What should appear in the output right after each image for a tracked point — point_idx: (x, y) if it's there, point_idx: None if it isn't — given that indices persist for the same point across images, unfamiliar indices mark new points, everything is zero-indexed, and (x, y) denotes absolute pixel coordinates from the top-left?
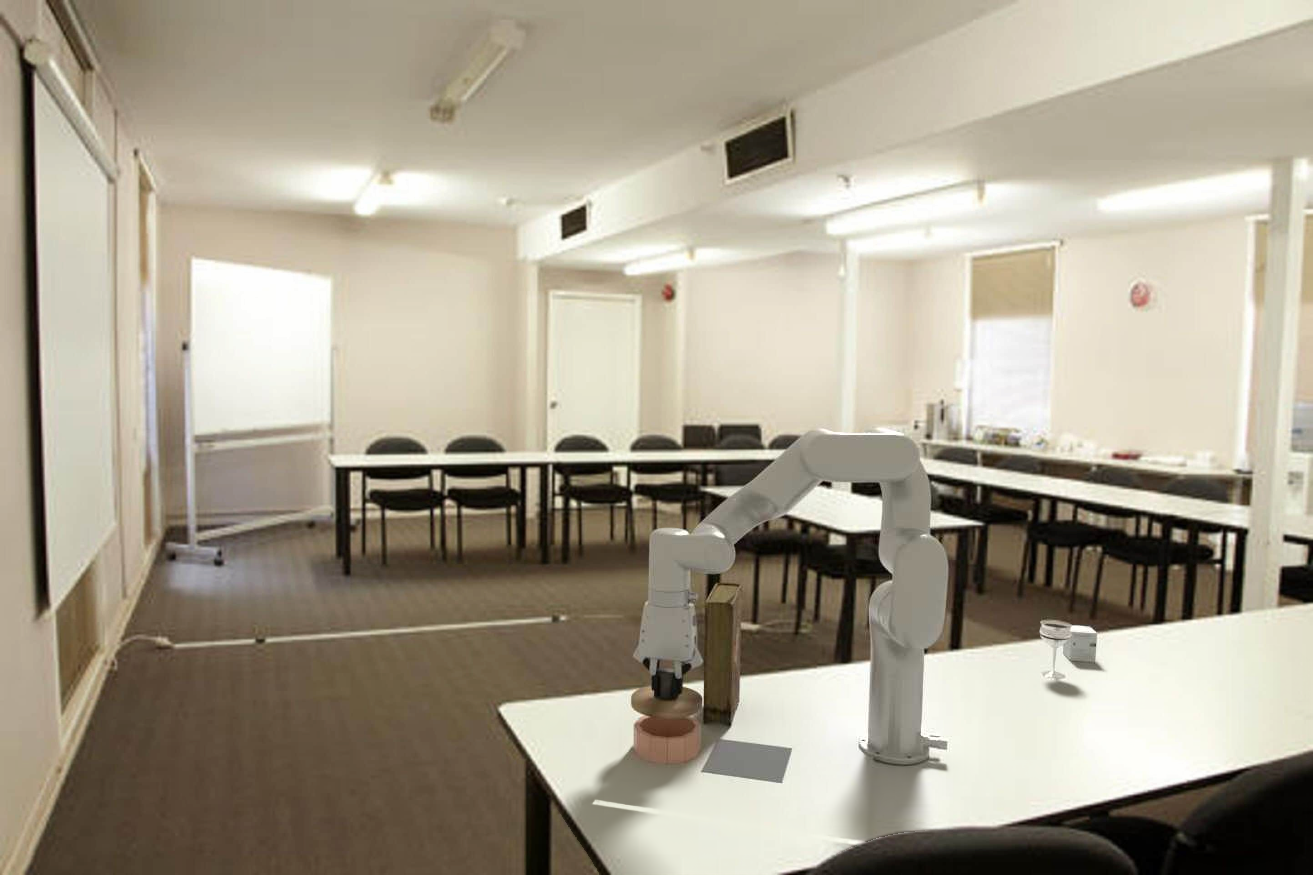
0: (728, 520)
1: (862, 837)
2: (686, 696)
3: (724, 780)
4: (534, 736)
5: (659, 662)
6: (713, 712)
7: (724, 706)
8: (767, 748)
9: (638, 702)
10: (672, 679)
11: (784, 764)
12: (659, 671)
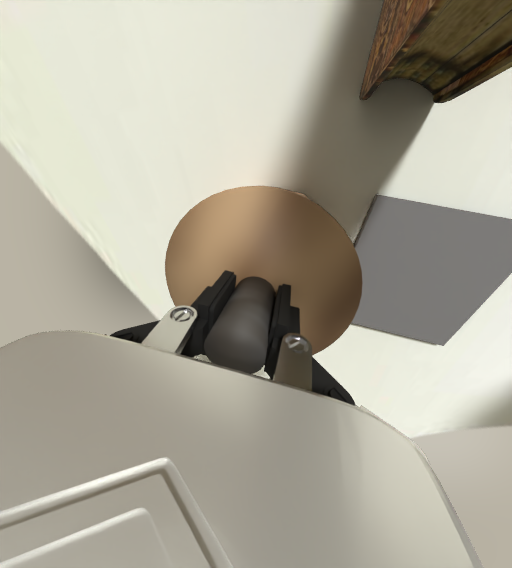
0: None
1: (484, 426)
2: (311, 284)
3: (355, 326)
4: (77, 213)
5: (182, 346)
6: (405, 62)
7: (461, 51)
8: (482, 233)
9: None
10: None
11: (482, 297)
12: (204, 336)
